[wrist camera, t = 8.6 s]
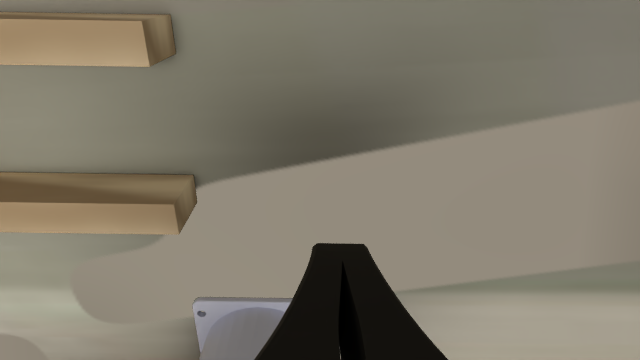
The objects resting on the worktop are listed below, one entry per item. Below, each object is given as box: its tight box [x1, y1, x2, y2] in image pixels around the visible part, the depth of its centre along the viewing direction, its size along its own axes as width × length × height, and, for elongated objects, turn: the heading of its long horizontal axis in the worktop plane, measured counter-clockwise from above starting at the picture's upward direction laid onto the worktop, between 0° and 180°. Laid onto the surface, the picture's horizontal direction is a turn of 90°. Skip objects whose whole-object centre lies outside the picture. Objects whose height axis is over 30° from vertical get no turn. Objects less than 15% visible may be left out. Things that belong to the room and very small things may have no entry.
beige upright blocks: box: [0, 12, 197, 234], centre depth 18 cm, size 9×11×3 cm
